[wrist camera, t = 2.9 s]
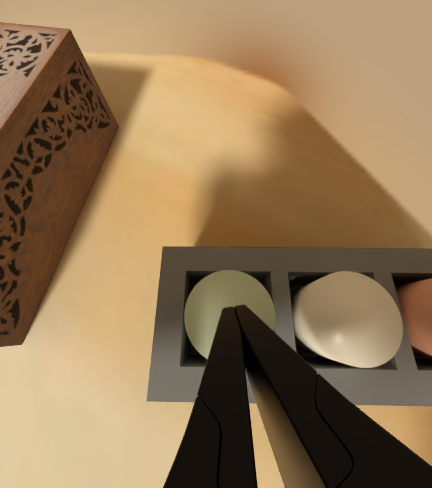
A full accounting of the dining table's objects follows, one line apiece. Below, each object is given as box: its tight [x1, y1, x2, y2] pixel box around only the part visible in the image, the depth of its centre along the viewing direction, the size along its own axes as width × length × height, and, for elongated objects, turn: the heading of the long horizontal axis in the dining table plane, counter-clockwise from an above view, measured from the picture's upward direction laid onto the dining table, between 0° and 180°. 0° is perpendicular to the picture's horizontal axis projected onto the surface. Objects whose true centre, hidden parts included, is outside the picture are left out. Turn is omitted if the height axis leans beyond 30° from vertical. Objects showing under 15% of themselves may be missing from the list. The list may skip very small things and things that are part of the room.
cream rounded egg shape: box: [290, 271, 403, 368], centre depth 13 cm, size 4×4×4 cm
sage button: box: [184, 270, 275, 359], centre depth 13 cm, size 4×4×4 cm
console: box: [147, 247, 432, 406], centre depth 16 cm, size 8×20×8 cm, turn 89°
